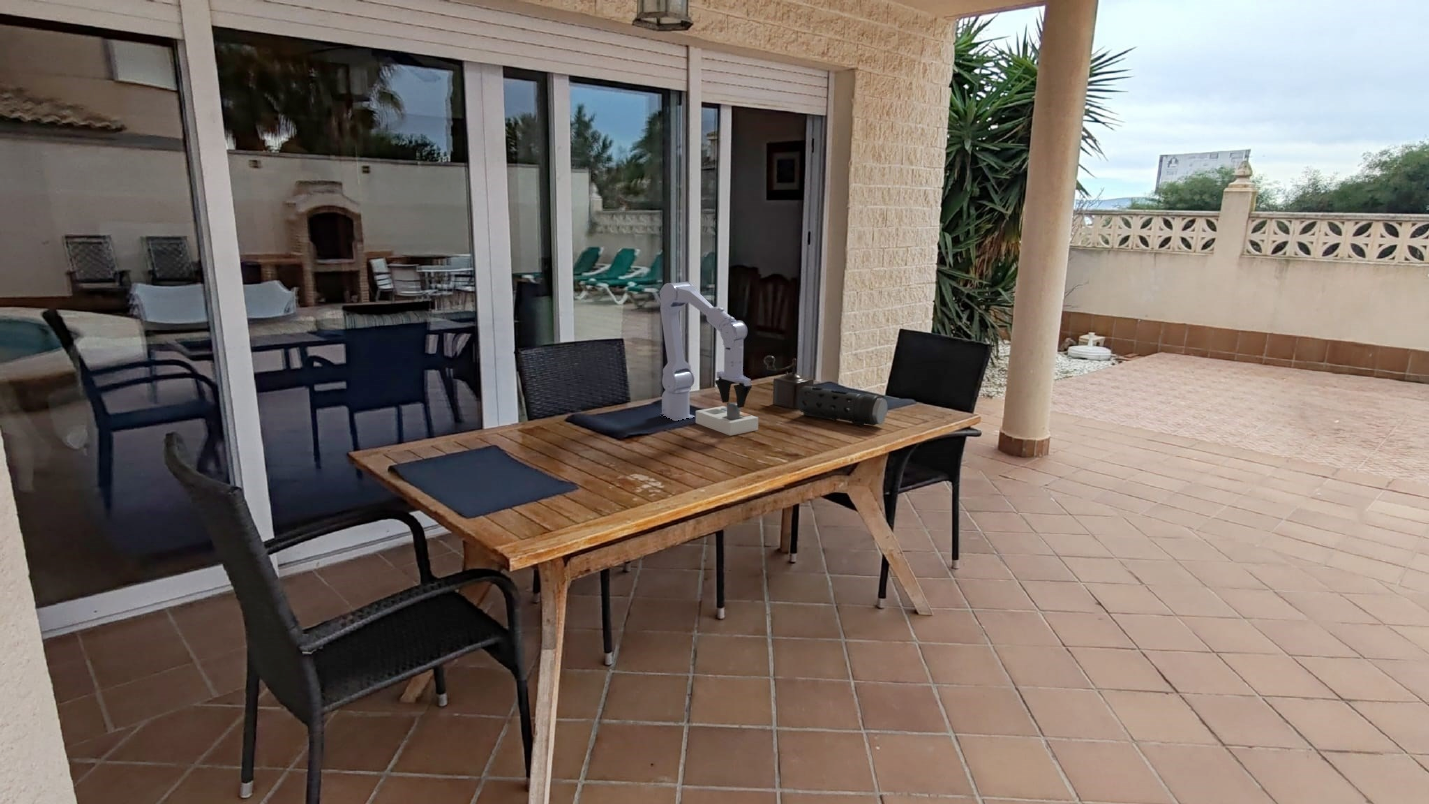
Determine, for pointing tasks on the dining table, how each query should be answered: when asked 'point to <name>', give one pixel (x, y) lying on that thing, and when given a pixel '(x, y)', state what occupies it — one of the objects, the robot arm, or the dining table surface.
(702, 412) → the socket block
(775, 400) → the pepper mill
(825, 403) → the muzzle brake
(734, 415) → the peg
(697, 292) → the robot arm
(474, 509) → the dining table surface
